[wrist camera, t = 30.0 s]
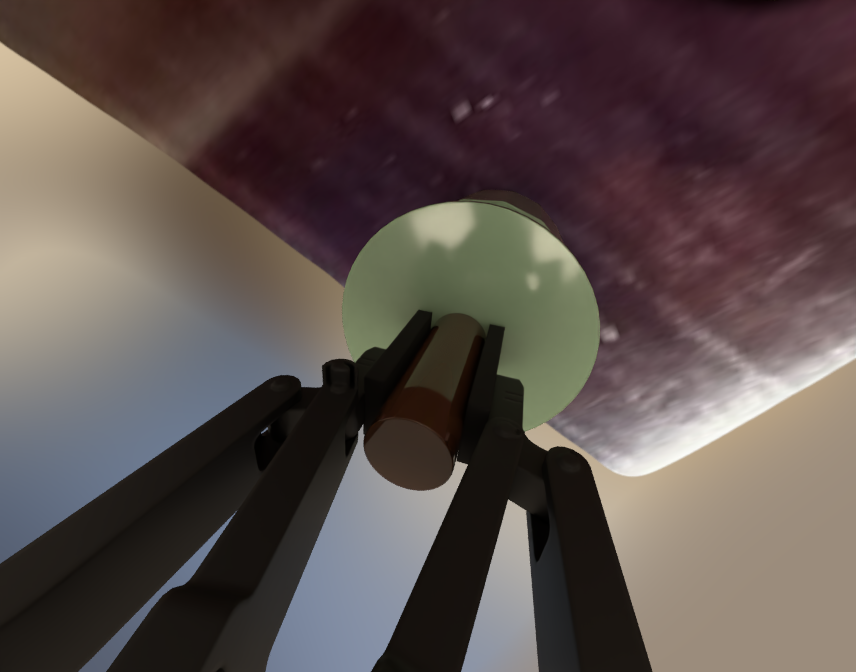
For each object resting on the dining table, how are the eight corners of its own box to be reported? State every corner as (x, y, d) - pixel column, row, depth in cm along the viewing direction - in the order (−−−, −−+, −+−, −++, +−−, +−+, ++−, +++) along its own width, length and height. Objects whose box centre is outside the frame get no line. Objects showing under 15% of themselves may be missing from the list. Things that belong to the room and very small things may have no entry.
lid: (397, 147, 16) (247, 125, 8) (661, 283, 15) (816, 421, 7) (327, 360, 23) (207, 473, 14) (508, 459, 22) (493, 636, 14)
